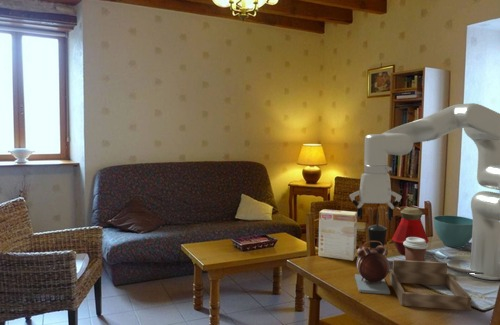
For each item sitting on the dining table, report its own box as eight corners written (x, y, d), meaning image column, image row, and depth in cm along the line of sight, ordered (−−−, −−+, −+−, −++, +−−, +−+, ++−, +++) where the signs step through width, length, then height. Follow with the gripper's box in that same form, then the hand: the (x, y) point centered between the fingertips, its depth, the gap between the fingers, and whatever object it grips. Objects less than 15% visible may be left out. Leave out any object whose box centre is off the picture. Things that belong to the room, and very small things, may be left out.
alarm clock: (384, 279, 142) (386, 238, 141) (389, 284, 137) (391, 242, 136) (354, 279, 142) (355, 238, 140) (358, 285, 137) (359, 242, 135)
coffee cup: (397, 266, 159) (398, 236, 158) (417, 264, 160) (418, 235, 159) (411, 274, 150) (412, 243, 149) (432, 272, 152) (433, 242, 151)
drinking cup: (364, 257, 169) (365, 211, 168) (381, 256, 170) (383, 210, 168) (371, 263, 162) (372, 215, 160) (389, 262, 162) (390, 214, 161)
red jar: (412, 246, 184) (414, 204, 183) (435, 255, 172) (437, 210, 170) (384, 250, 179) (386, 206, 177) (406, 259, 166) (408, 212, 164)
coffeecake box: (356, 256, 171) (357, 211, 169) (353, 261, 164) (354, 215, 162) (322, 251, 177) (322, 208, 175) (317, 256, 170) (318, 211, 168)
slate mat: (382, 278, 145) (382, 275, 145) (390, 294, 132) (390, 291, 132) (354, 276, 147) (354, 274, 147) (359, 292, 133) (359, 289, 133)
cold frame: (448, 284, 140) (449, 262, 139) (470, 310, 120) (472, 285, 120) (389, 281, 143) (390, 259, 142) (401, 305, 123) (402, 280, 123)
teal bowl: (483, 251, 178) (485, 224, 177) (443, 251, 178) (444, 224, 177) (462, 239, 196) (464, 215, 195) (425, 239, 196) (427, 215, 195)
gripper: (399, 169, 138) (398, 217, 140) (348, 168, 141) (348, 216, 142) (404, 171, 131) (403, 222, 132) (350, 171, 133) (350, 221, 135)
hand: (374, 219), depth 137 cm, fingers open, 9 cm apart
